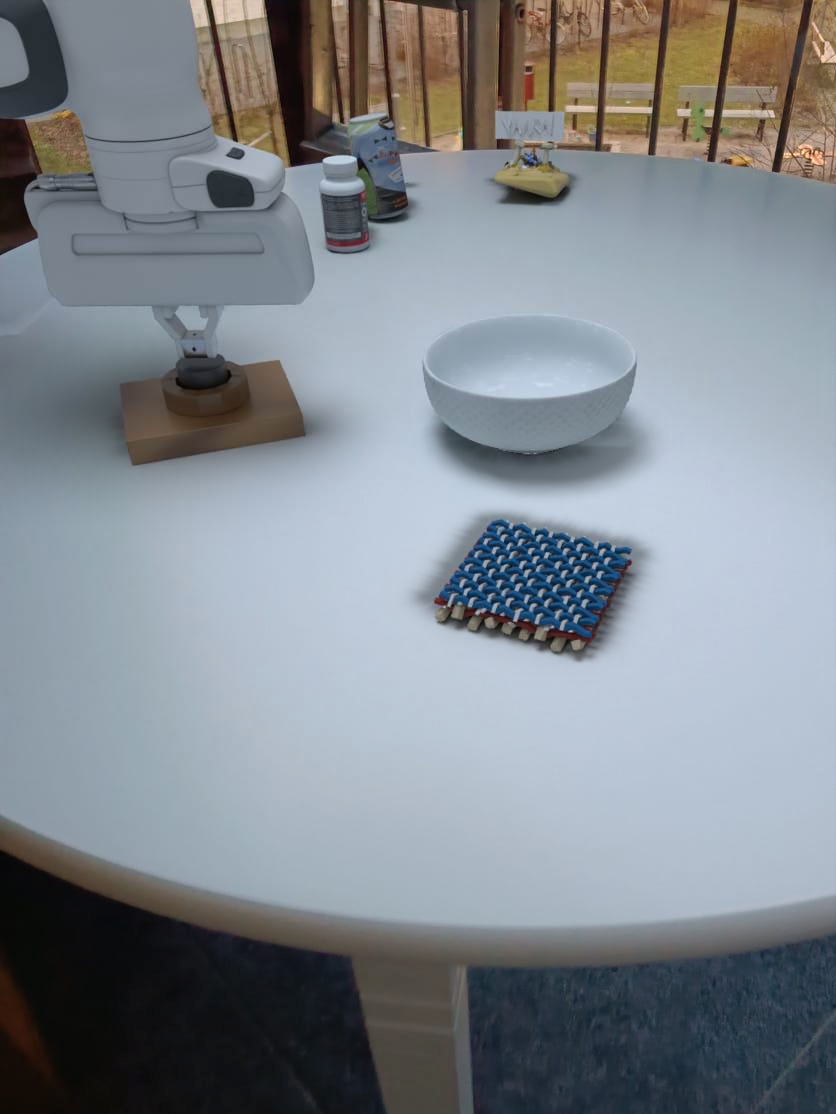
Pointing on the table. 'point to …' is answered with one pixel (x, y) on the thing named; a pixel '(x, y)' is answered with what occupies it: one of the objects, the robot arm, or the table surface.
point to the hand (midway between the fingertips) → (199, 355)
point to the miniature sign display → (524, 168)
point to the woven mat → (535, 583)
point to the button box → (209, 413)
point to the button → (202, 372)
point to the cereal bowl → (529, 380)
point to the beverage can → (378, 164)
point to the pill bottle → (343, 205)
